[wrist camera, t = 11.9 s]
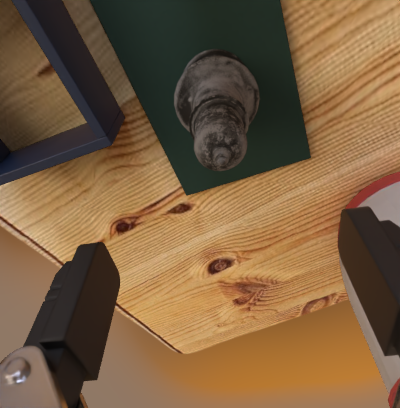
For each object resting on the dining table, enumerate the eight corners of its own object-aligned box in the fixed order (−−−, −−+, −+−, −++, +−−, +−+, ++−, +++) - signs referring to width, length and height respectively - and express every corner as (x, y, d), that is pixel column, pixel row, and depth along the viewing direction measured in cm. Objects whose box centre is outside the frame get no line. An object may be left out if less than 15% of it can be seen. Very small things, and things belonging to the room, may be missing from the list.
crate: (-105, 23, 23) (-168, 37, 19) (34, -52, 21) (-7, -54, 17) (10, 161, 30) (-19, 192, 26) (125, 118, 28) (112, 145, 24)
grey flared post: (269, 81, 25) (309, 158, 16) (217, 135, 28) (225, 228, 18) (212, 25, 23) (218, 75, 13) (162, 89, 26) (137, 169, 16)
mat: (69, -46, 21) (66, -47, 20) (250, -142, 18) (252, -145, 18) (186, 192, 32) (186, 196, 32) (309, 154, 30) (311, 158, 29)
